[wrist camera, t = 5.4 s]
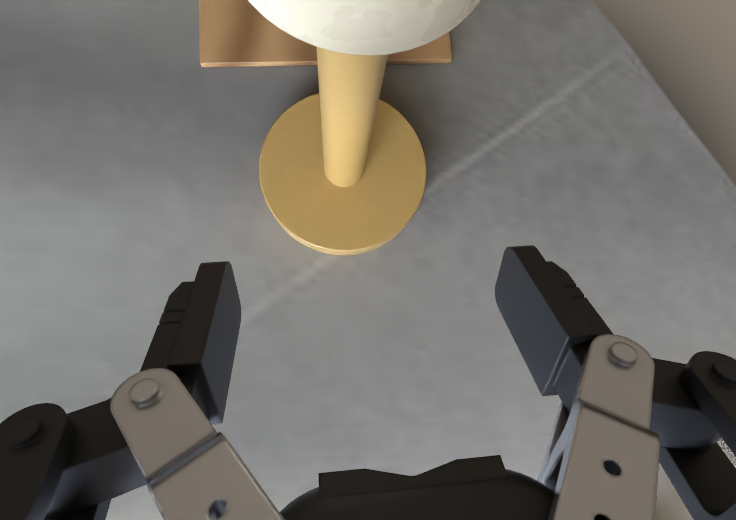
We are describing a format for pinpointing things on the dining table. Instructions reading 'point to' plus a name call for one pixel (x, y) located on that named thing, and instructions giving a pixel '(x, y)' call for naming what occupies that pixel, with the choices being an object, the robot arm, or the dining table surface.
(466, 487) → the robot arm
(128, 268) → the dining table surface
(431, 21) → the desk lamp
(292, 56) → the wooden board
